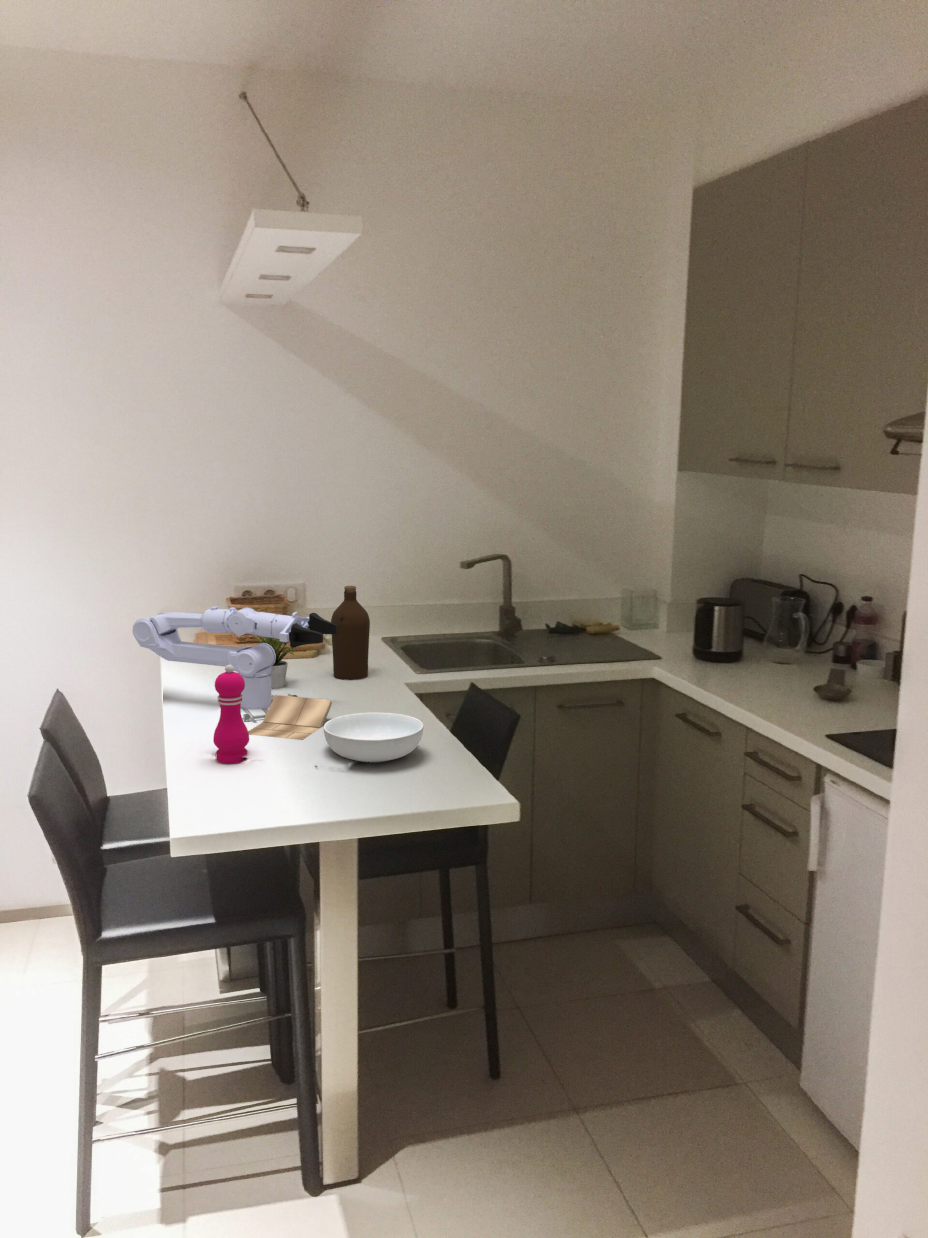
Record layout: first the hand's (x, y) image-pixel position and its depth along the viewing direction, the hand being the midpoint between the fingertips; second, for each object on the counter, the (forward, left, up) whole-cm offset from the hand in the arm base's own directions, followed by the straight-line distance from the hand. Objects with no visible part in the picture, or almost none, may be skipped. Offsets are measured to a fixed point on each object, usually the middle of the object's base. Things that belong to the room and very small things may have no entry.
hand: (329, 633), depth 236 cm
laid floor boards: (-5, -17, -20) cm, 27 cm away
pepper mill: (-8, -34, -21) cm, 41 cm away
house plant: (-25, +22, -21) cm, 39 cm away
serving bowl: (+19, -23, -21) cm, 37 cm away
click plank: (-5, -8, -18) cm, 20 cm away
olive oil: (-11, +40, -21) cm, 46 cm away
